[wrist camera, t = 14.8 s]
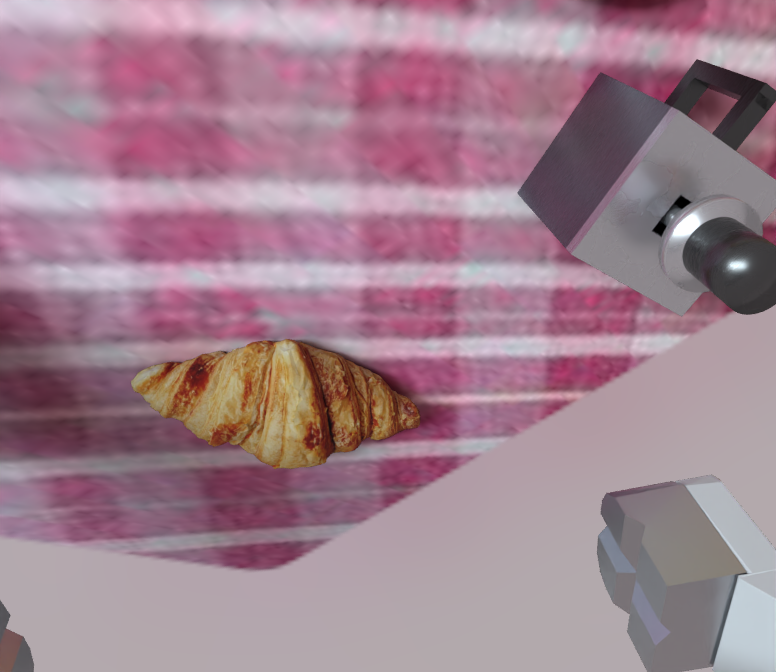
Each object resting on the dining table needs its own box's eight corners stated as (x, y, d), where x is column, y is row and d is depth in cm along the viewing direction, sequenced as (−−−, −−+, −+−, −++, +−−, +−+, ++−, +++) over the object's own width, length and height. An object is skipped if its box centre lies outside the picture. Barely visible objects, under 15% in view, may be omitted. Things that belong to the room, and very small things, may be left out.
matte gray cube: (613, 249, 50) (681, 316, 42) (517, 193, 47) (570, 254, 39) (733, 94, 46) (838, 135, 37) (636, 19, 42) (727, 46, 34)
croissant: (143, 375, 55) (123, 472, 50) (135, 305, 46) (111, 414, 42) (402, 401, 59) (405, 492, 55) (438, 342, 51) (443, 443, 46)
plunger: (623, 227, 47) (756, 345, 34) (566, 192, 45) (684, 304, 32) (674, 161, 45) (836, 260, 32) (617, 122, 43) (764, 211, 30)
